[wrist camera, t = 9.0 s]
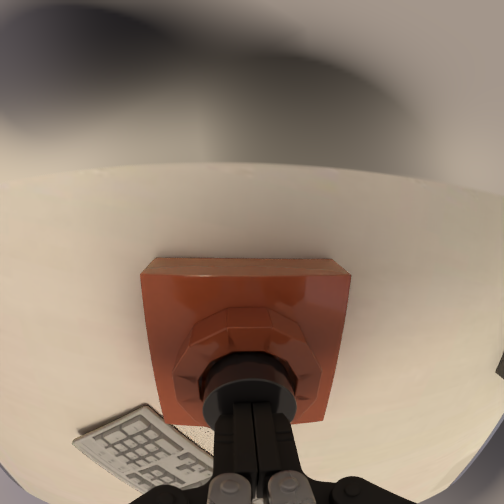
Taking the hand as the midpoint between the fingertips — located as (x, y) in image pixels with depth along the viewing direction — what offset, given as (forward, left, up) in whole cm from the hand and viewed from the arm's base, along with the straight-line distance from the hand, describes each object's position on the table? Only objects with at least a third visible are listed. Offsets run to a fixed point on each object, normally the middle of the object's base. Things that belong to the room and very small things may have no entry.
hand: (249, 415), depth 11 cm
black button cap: (0, 0, -2) cm, 2 cm away
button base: (0, 0, -7) cm, 7 cm away
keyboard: (+21, -3, -7) cm, 22 cm away
